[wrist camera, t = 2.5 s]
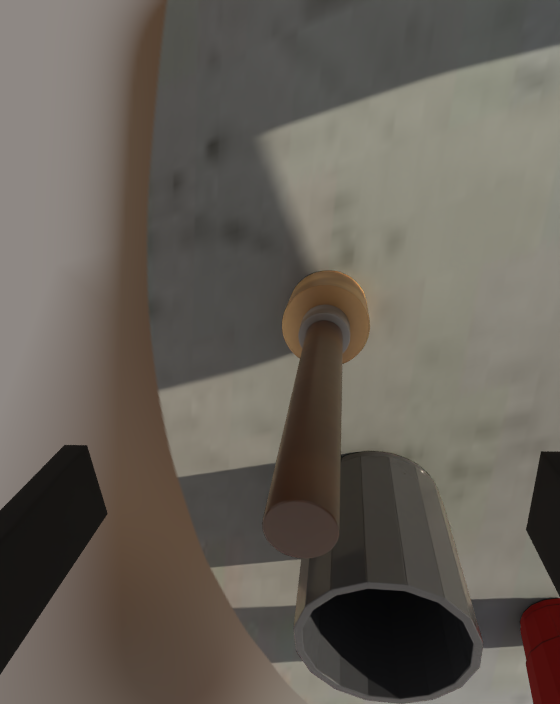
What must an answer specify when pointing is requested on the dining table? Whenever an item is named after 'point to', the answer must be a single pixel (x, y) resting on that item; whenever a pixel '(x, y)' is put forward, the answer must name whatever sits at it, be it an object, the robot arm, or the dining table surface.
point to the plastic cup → (542, 650)
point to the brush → (314, 414)
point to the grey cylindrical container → (388, 590)
